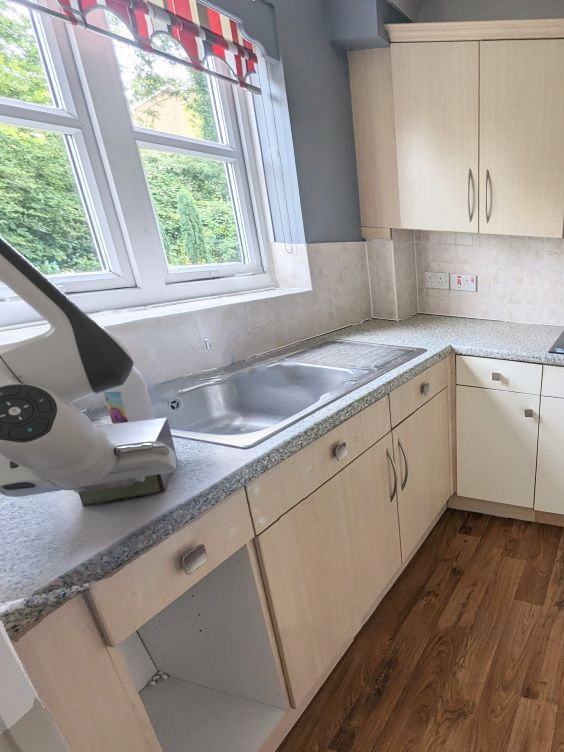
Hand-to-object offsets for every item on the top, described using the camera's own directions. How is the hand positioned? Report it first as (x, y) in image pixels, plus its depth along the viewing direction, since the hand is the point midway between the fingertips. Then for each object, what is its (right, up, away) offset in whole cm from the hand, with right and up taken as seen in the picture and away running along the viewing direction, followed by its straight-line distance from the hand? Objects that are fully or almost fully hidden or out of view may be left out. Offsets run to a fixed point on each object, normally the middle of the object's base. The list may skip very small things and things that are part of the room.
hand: (111, 482), depth 77 cm
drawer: (-4, -2, +7) cm, 8 cm away
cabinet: (-5, -2, +11) cm, 12 cm away
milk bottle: (-24, +7, +32) cm, 41 cm away
